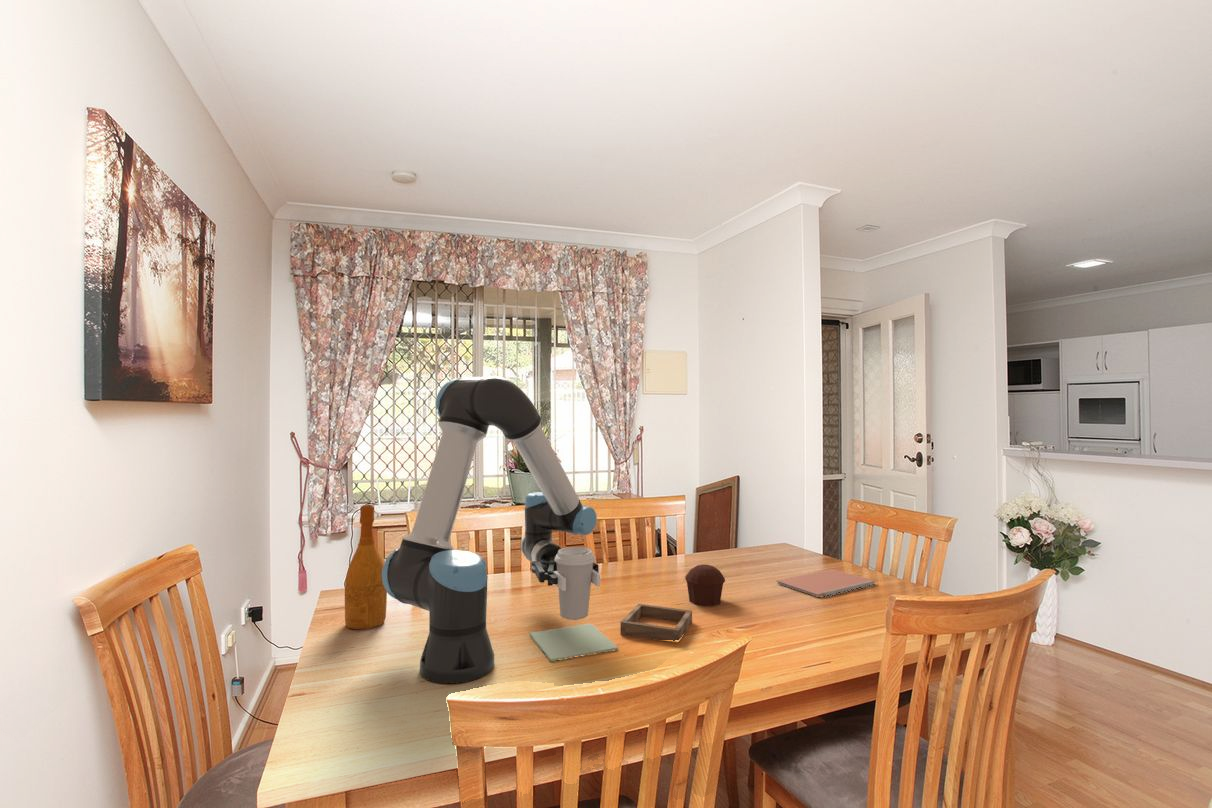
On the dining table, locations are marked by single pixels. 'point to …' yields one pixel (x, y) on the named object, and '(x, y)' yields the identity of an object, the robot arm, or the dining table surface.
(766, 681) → the dining table surface
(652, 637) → the square tray
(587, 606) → the coffee cup
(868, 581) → the notebook
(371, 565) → the wine bottle
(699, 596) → the muffin
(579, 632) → the mat
